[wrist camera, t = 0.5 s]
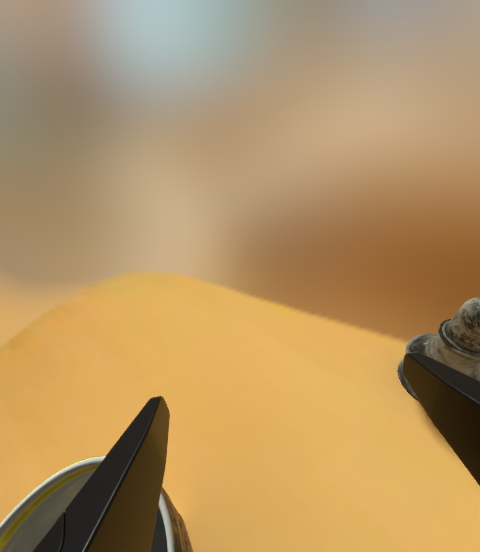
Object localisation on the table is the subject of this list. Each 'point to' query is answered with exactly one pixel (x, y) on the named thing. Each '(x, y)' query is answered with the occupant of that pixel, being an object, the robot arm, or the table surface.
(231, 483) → the table surface
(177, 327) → the table surface
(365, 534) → the table surface
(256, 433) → the table surface
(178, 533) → the ceramic cup
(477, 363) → the grey stone tiered figure
